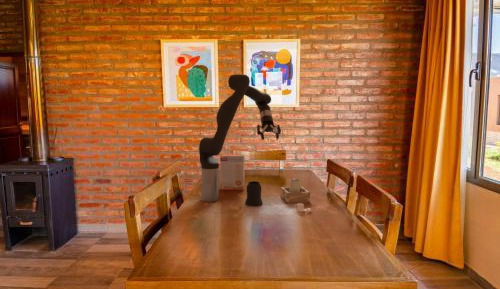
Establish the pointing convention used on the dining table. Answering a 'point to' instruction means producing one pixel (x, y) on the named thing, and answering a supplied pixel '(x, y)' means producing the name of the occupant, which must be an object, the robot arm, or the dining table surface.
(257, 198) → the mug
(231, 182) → the cracker box
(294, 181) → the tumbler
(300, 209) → the teacup and saucer
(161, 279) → the dining table surface
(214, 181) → the robot arm
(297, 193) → the crate
